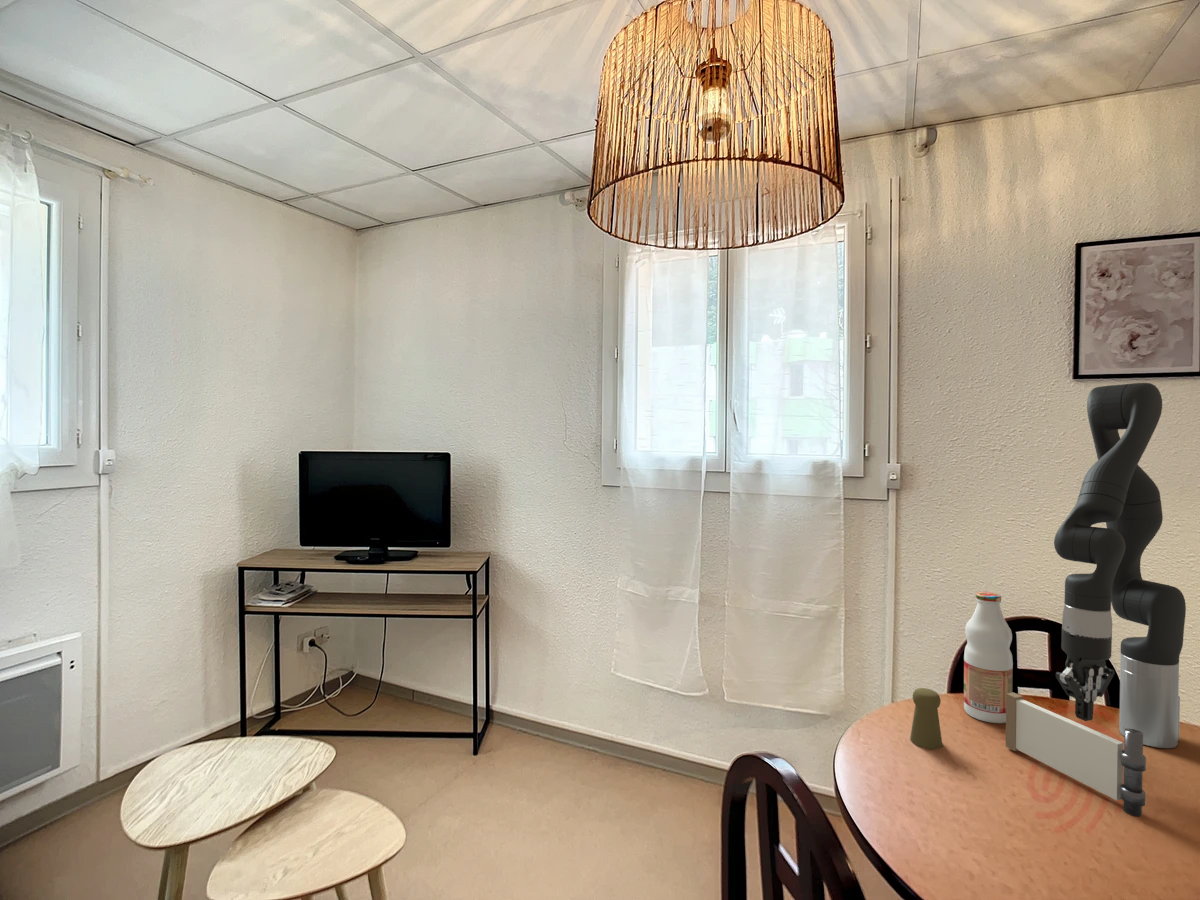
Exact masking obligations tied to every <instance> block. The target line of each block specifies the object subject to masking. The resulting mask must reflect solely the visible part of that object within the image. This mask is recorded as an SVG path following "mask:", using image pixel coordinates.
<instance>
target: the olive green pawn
mask: <svg viewBox="0 0 1200 900" xmlns="http://www.w3.org/2000/svg"><path fill="white" fill-rule="evenodd" d="M912 700H913V703H914V711H913V712H914V713H913V718H912V725H911V732H910V739H909V740H910V742H911V743H912V744H913V745H915V746H916V747H917V746H918V747H919V748H922V749H927V750H940V749H942V747H943V739H942V733H941V732H942V731H941V726H940V725H941V724H940V719H939V718H940V717H939V716H940V715H939V712H938V711H939V710H938V709H939V707H940V705H941V697H940V694H938V692H936V691H935V690H933V689H930V688H928V687H927V688H926V687H919V688H916V689H914V691H913V692H912Z"/></svg>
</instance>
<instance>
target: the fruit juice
mask: <svg viewBox="0 0 1200 900" xmlns="http://www.w3.org/2000/svg"><path fill="white" fill-rule="evenodd" d="M975 600H976V601H977V603H976V607H975V609H974V612H973V614H972V616H971V617H970V619H969V620H967V622H966V624H965V627H964V628H965V629H964V633H965V636H966V637H965V638H966V645H965V647H964V654H963V708H964V711H965V713H967V714H968V716H970V717H972V718H974V719H977V720H979V721H982V722H986V723H993V724H1006V694H1007V693H1012V692H1013V668H1014V667H1013V665H1014V662H1013V654H1012V651H1011V650H1010V647H1011V644H1012V641H1013V633H1012V628H1010V627H1009V624H1008V623H1007V621H1006V619H1005V617H1004V615H1003V611H1002V608H1001V603H1002V596H1001V594H999V593H995V592H991V591H978V592H976V594H975Z"/></svg>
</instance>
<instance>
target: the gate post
mask: <svg viewBox="0 0 1200 900" xmlns="http://www.w3.org/2000/svg"><path fill="white" fill-rule="evenodd" d="M1123 743H1124V747H1123V751H1121V764H1122V765H1123V784H1122V785H1121V801H1123V805H1122V807H1123V810H1122V811H1124V812H1125V814H1127V815H1129V816H1131V817H1132V816H1133V817H1138V818H1140V817H1142V816H1143V807H1144V806H1146V791H1145V790H1144V789H1143V772H1146V771H1147V768H1146V767H1147V757H1146V756H1145V754H1144V744H1143V733H1142V732H1140V731H1138V730H1135V729H1125V736H1124V742H1123Z"/></svg>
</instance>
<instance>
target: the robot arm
mask: <svg viewBox="0 0 1200 900" xmlns="http://www.w3.org/2000/svg"><path fill="white" fill-rule="evenodd" d="M1086 400H1087V401H1086V411H1087V418H1088V423H1089V427H1090V432H1091V436H1092V439H1093V443H1094V448H1095V453H1096V456H1097V457H1096V458H1097V460H1096V461H1095V463H1093V465H1092V466H1091V467H1090V468H1089V469H1088V470H1087V472H1086V474H1085V475H1084V478H1083V481H1082V484H1081V487H1080V490H1079V494H1078V497H1077V501H1076V503H1075V504H1074V506H1073V508H1072V510H1071V511H1070V512H1069V514H1068V515H1067V517H1066V518H1065V520H1064V521H1063V522H1062V523H1061V524H1060V526H1059V527H1058V529H1057V531H1056V533H1055V537H1054V540H1053V544H1054V545H1053V546H1054V549H1055V552H1056V553H1057V555H1058V556H1059V557H1060V558H1062V559H1064V560H1067V561H1073V562H1078V563H1086V564H1092V565H1096V567H1095V570H1094V571H1093V572H1091V573H1071V574H1069V575H1067V576H1066V577H1065V580H1064V603H1063V604H1064V605H1063V610H1062V614H1061V615H1062V617H1061V618H1062V619H1061V620H1062V621H1061V625H1062V626H1061V649H1062V651H1063V652H1064V653H1065V654H1066V655H1067V657H1066V660H1065V664H1064V665H1065V668H1064V670H1063V671H1062V672H1059V671H1056V672H1055V678H1056V680H1057V681H1058V683H1059V685H1060V687H1061V688H1062V690H1063V691H1064V693H1065V694H1066V696H1068V697H1071V698H1074V699H1075V701H1074V702H1075V705H1074V706H1075V709H1074V710H1075V711H1074V713H1075V717H1076V718H1078V719H1079V720H1082V721H1084V722H1088V721H1092V720H1093V719H1094V705H1095V704H1094V703H1095V702H1097V699H1098V697H1099V698H1102V697H1103V696H1104V694H1105V693H1106V691H1107V688H1108V687H1109V685H1110V683H1111V681H1112V679H1113V678H1114V676H1115V674H1116V673H1115V670H1114V669H1113V668H1112V669H1111V668H1108V667H1107V664H1106V663H1107V662H1106V661H1108V660H1109V659H1111V657H1112V649H1113V648H1112V645H1113V644H1112V643H1113V638H1112V637H1113V618H1112V609H1113V611H1114V613H1115V614H1116V616H1118V617H1119V618H1121V619H1123V620H1125V621H1130V622H1133V623H1136V624H1140V625H1145V626H1147V627H1148V629H1147V635H1146V636H1132V637H1131V636H1130V637H1125V638H1122V640H1121V642H1120V658H1119V661H1120V662H1119V663H1120V664H1119V665H1120V669H1119V670H1120V671H1119V672H1120V673H1119V675H1120V676H1119V677H1120V678H1119V679H1120V680H1119V717H1118V718H1119V720H1118V721H1119V725H1118V726H1119V727H1118V728H1119V733H1120V734H1121V735H1122V736H1123V737H1125V729H1135V730H1138V731H1140V732H1142V733H1143V746H1144V745H1145V746H1148V747H1149V746H1150V747H1152V748H1159V749H1173V748H1176V747H1177V746H1178V741H1180V714H1181V713H1180V711H1181V709H1180V707H1181V705H1180V704H1181V702H1180V701H1181V698H1180V695H1179V693H1180V691H1179V685H1180V684H1179V682H1180V681H1179V680H1180V677H1179V676H1180V656H1181V652H1182V649H1183V645H1184V634H1185V632H1184V631H1185V623H1186V613H1187V612H1186V610H1187V606H1186V600H1185V596H1184V593H1183V592H1182V590H1180V589H1179V588H1178V587H1175V586H1173V585H1169V584H1165V583H1160V582H1154V581H1151V580H1145V579H1143V577H1142V573H1141V559H1142V555H1143V553H1144V552H1145V550H1146V548H1147V547H1148V546H1149V545H1150V543H1151V542H1152V540H1153V539H1154V538H1155V536H1156V535H1157V534H1158V533H1159V530H1160V528H1161V527H1162V524H1163V521H1164V520H1163V507H1162V500H1161V494H1160V492H1161V491H1160V490H1159V488H1158V485H1157V484H1156V483H1155V482H1154V480H1153V479H1152V478H1151V477H1150V476H1149V474H1147V473H1146V471H1145V470H1144V469H1143V468H1142V467H1141V466H1139V463H1140V461H1141V459H1142V456H1143V454H1144V453H1145V451H1146V449H1147V447H1148V445H1149V442H1150V440H1151V438H1152V437H1153V434H1154V432H1155V431H1156V428H1157V426H1158V424H1159V421H1160V418H1161V415H1162V410H1163V398H1162V394H1161V391H1160V389H1159V388H1158V387H1157V386H1156V385H1154V384H1153V383H1150V382H1135V383H1126V384H1125V383H1123V384H1113V385H1104V386H1102V385H1101V386H1096V387H1094V388H1092V389H1091V390H1090V392H1089V394H1088V396H1087V399H1086ZM1119 430H1125V431H1124V434H1122V436H1120V433H1119ZM1100 523H1106V524H1105V525H1106V527H1098V526H1093V525H1096V524H1100Z"/></svg>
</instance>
